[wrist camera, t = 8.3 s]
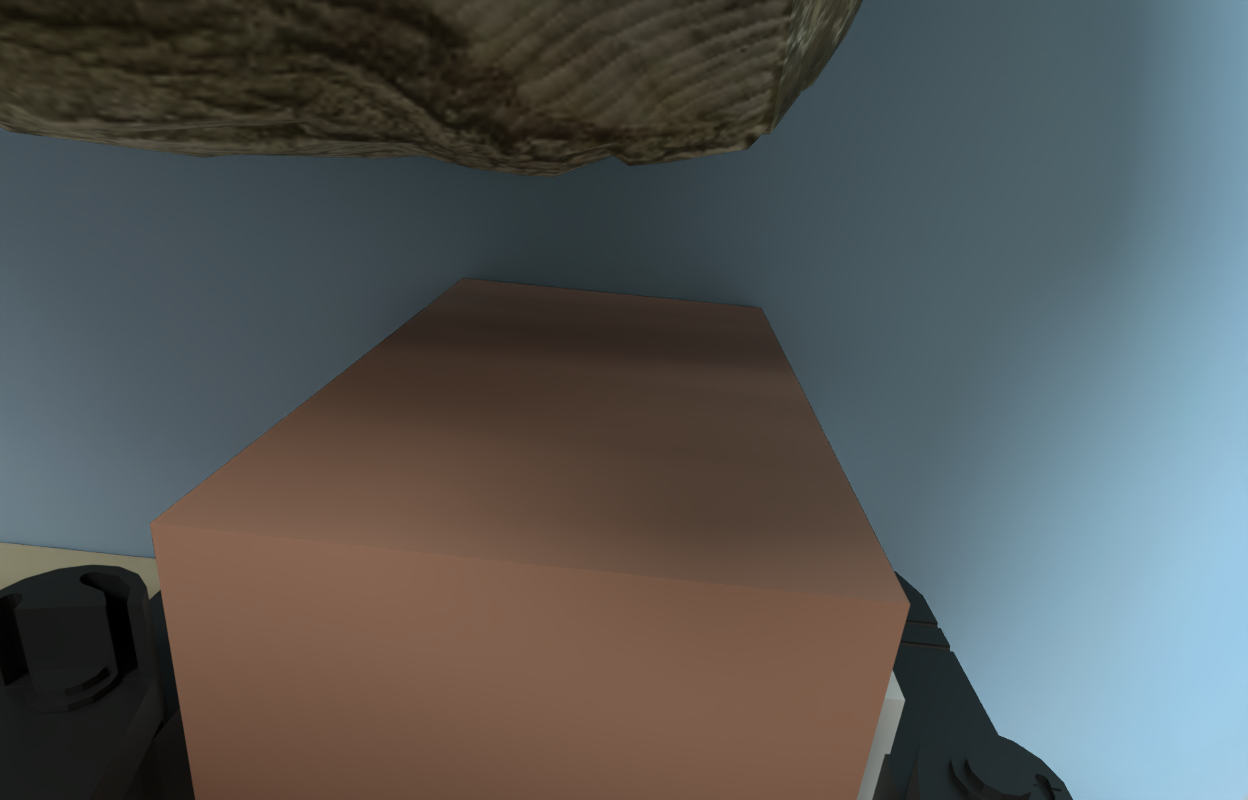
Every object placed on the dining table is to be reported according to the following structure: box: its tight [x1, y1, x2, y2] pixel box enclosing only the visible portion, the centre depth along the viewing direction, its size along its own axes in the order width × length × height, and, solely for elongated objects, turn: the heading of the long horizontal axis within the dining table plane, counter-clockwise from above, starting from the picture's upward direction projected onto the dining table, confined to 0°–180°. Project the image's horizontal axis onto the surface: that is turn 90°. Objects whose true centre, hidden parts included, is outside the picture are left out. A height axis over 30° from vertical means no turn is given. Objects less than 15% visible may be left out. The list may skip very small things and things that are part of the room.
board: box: [0, 542, 161, 600], centre depth 16 cm, size 10×24×2 cm, turn 85°
